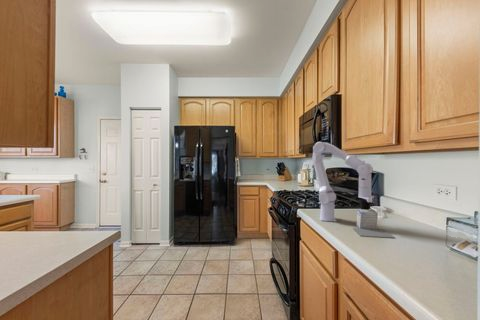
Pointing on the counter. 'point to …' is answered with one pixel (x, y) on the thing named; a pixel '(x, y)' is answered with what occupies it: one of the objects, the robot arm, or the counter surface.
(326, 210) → the robot arm
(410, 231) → the counter surface
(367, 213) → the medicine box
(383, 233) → the mat
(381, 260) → the counter surface
